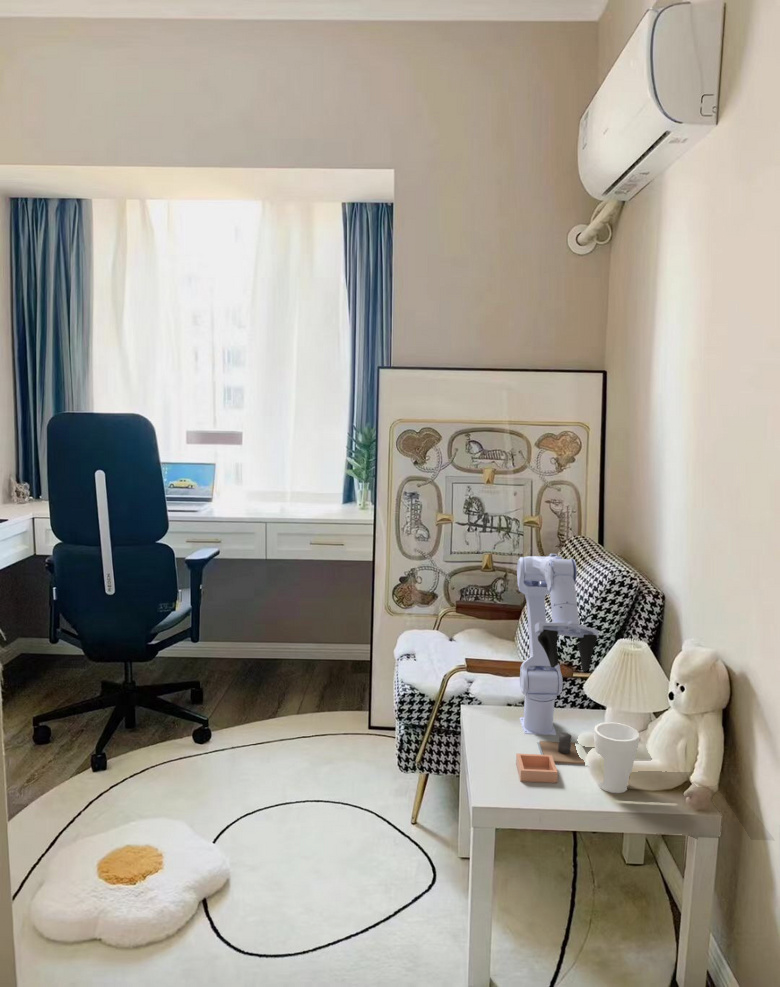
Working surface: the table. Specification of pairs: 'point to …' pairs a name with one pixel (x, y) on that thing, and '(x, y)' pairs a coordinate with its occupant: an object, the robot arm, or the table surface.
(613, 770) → the foam cup
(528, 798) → the table surface
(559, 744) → the lid
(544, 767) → the open box
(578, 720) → the table surface
